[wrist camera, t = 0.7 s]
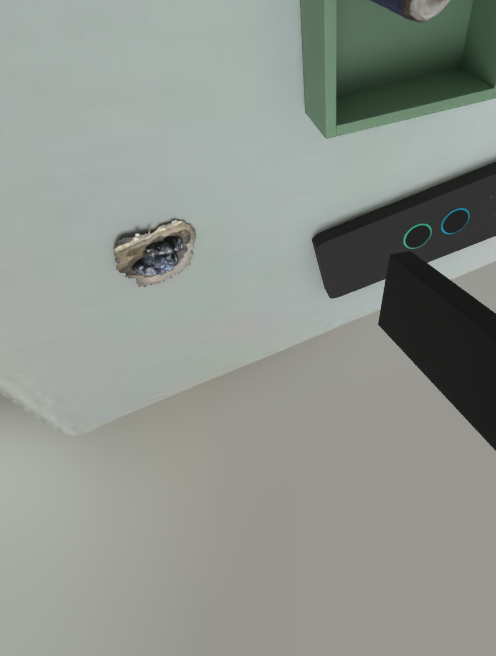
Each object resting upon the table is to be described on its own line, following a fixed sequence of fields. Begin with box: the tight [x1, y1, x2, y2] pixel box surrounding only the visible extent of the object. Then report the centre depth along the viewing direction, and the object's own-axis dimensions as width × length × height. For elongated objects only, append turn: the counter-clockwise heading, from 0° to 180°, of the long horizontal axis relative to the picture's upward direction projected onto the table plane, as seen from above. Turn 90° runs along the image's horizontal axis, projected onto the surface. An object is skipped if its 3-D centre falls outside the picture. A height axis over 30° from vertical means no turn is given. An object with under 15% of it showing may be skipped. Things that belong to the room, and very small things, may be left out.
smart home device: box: [312, 162, 496, 298], centre depth 47 cm, size 8×2×20 cm
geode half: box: [115, 219, 196, 287], centre depth 42 cm, size 7×8×2 cm
